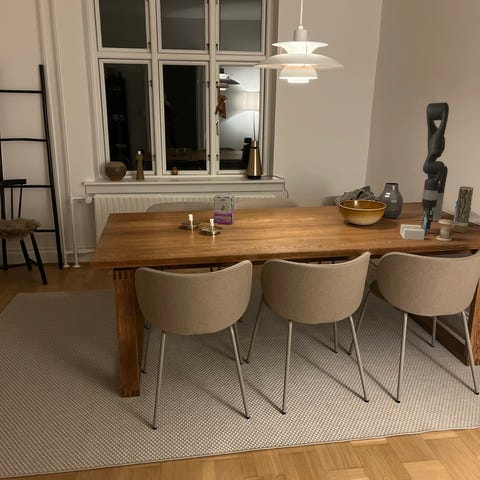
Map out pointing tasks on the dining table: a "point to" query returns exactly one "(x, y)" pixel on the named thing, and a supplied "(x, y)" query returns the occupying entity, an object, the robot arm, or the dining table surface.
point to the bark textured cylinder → (456, 209)
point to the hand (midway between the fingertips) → (426, 226)
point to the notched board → (412, 232)
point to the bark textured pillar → (463, 209)
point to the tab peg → (425, 227)
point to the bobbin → (445, 230)
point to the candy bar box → (224, 209)
